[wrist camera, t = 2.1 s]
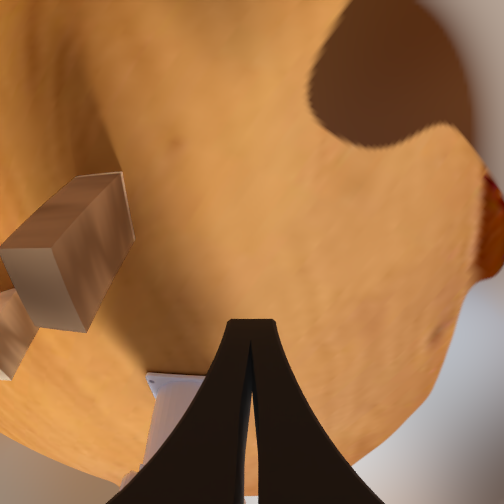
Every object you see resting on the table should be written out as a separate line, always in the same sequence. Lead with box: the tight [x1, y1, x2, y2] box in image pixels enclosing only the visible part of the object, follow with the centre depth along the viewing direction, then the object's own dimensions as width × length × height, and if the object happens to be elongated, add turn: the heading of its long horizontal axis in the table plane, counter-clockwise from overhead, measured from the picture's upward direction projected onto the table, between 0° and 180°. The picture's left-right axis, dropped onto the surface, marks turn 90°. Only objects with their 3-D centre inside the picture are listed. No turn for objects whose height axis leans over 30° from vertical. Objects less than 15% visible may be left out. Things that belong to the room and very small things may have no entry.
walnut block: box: [0, 171, 136, 333], centre depth 15 cm, size 4×3×8 cm
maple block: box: [0, 288, 40, 380], centre depth 20 cm, size 4×3×7 cm
